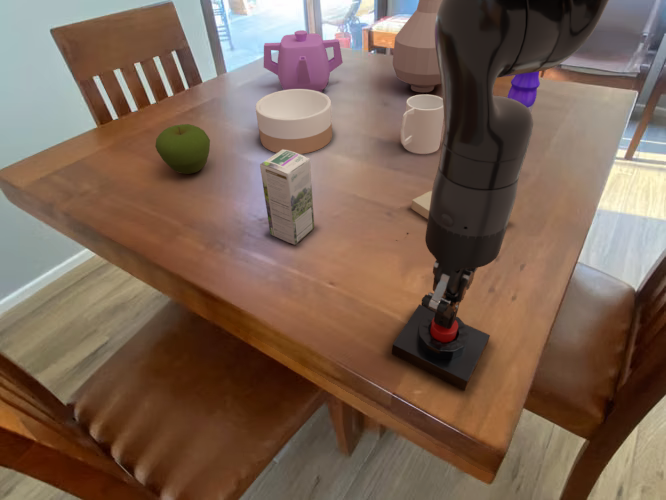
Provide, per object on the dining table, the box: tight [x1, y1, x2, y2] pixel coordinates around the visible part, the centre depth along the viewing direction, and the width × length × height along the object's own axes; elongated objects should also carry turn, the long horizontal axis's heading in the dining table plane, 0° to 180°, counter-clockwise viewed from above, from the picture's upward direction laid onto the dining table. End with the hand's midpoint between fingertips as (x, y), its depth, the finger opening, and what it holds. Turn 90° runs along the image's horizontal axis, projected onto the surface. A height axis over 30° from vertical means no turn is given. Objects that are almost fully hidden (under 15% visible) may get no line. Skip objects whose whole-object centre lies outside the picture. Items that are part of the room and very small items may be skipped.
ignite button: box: [430, 318, 458, 343], centre depth 54 cm, size 3×3×2 cm
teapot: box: [263, 29, 344, 93], centre depth 122 cm, size 19×18×15 cm
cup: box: [399, 93, 444, 155], centre depth 94 cm, size 8×12×10 cm
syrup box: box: [259, 149, 315, 246], centre depth 72 cm, size 6×6×14 cm
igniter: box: [391, 303, 491, 391], centre depth 56 cm, size 10×8×4 cm
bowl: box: [255, 89, 333, 155], centre depth 101 cm, size 17×17×8 cm
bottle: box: [506, 71, 541, 113], centre depth 93 cm, size 7×6×17 cm
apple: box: [154, 123, 211, 175], centre depth 90 cm, size 11×10×10 cm
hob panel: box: [411, 189, 510, 224], centre depth 77 cm, size 16×10×2 cm, turn 36°
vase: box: [392, 0, 442, 93], centre depth 113 cm, size 18×18×30 cm
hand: (444, 322), depth 53 cm, fingers closed
